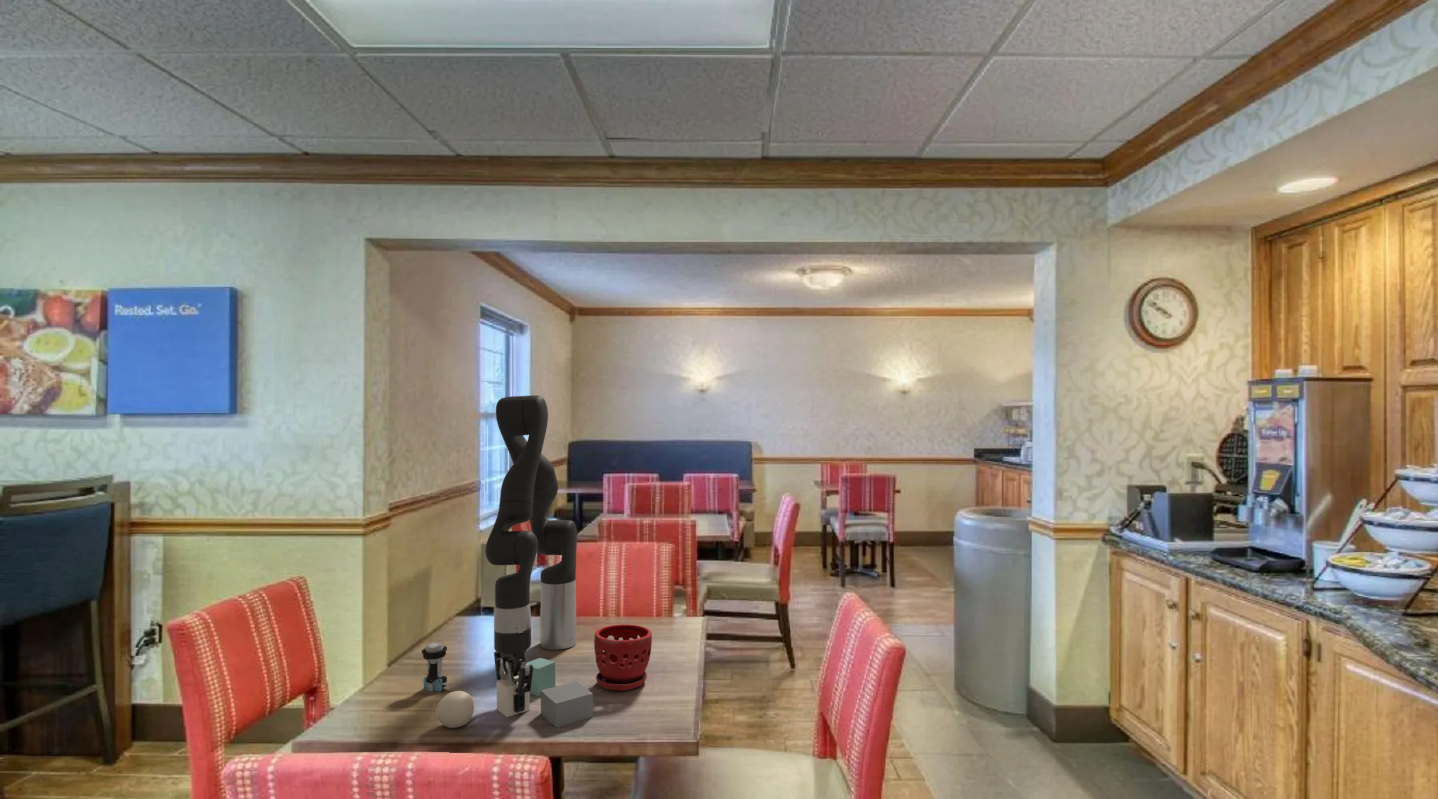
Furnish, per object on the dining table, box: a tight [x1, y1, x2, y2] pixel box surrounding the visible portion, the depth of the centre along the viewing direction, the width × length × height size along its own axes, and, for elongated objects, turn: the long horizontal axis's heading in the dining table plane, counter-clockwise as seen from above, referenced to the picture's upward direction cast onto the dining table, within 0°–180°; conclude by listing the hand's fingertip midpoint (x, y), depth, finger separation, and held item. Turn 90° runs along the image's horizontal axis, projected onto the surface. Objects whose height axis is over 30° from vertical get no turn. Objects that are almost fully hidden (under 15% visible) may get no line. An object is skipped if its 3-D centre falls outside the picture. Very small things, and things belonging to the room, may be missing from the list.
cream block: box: [496, 676, 531, 718], centre depth 147 cm, size 5×5×6 cm
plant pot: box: [593, 623, 653, 691], centre depth 161 cm, size 13×13×12 cm
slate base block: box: [540, 680, 594, 729], centre depth 144 cm, size 8×8×5 cm
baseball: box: [434, 690, 475, 729], centre depth 140 cm, size 7×7×7 cm
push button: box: [421, 642, 452, 692], centre depth 158 cm, size 7×5×10 cm
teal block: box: [526, 657, 556, 697], centre depth 158 cm, size 5×5×6 cm
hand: (513, 706), depth 147 cm, fingers closed on cream block, 5 cm apart
